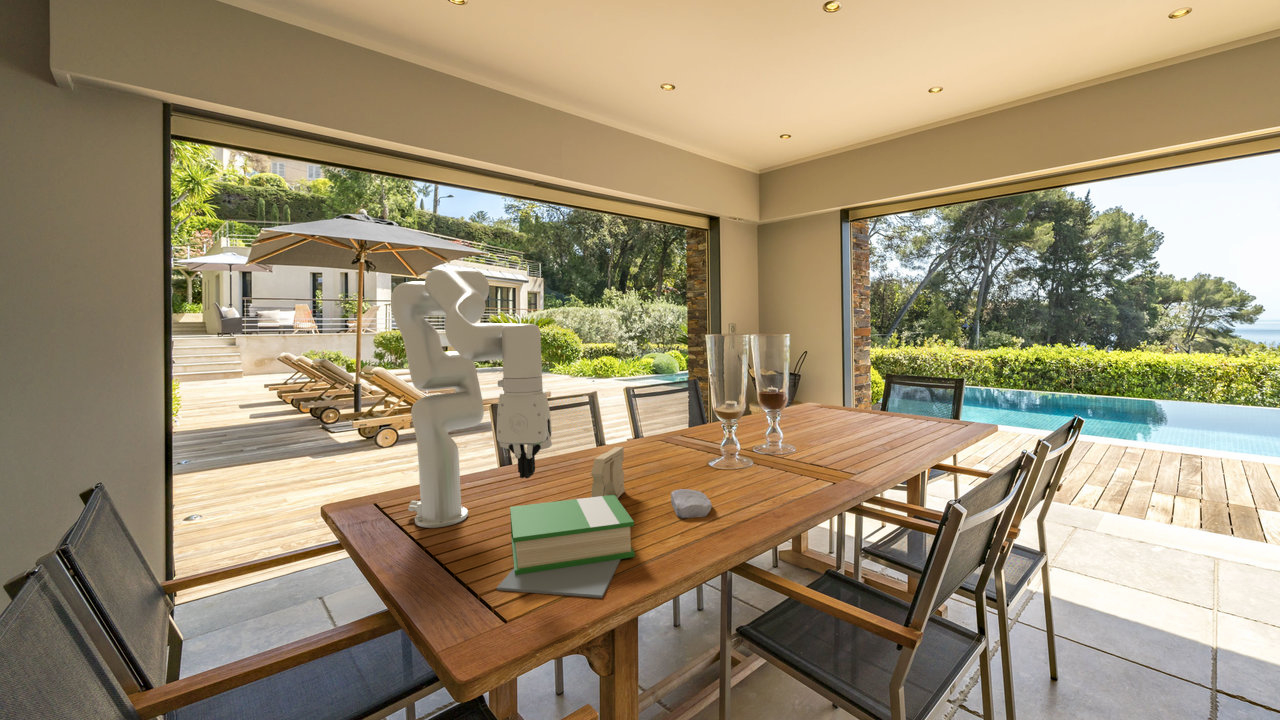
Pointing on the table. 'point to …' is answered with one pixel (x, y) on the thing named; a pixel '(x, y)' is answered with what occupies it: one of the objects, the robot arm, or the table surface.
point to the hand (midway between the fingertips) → (526, 476)
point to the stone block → (690, 503)
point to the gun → (608, 473)
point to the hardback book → (569, 533)
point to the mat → (564, 580)
